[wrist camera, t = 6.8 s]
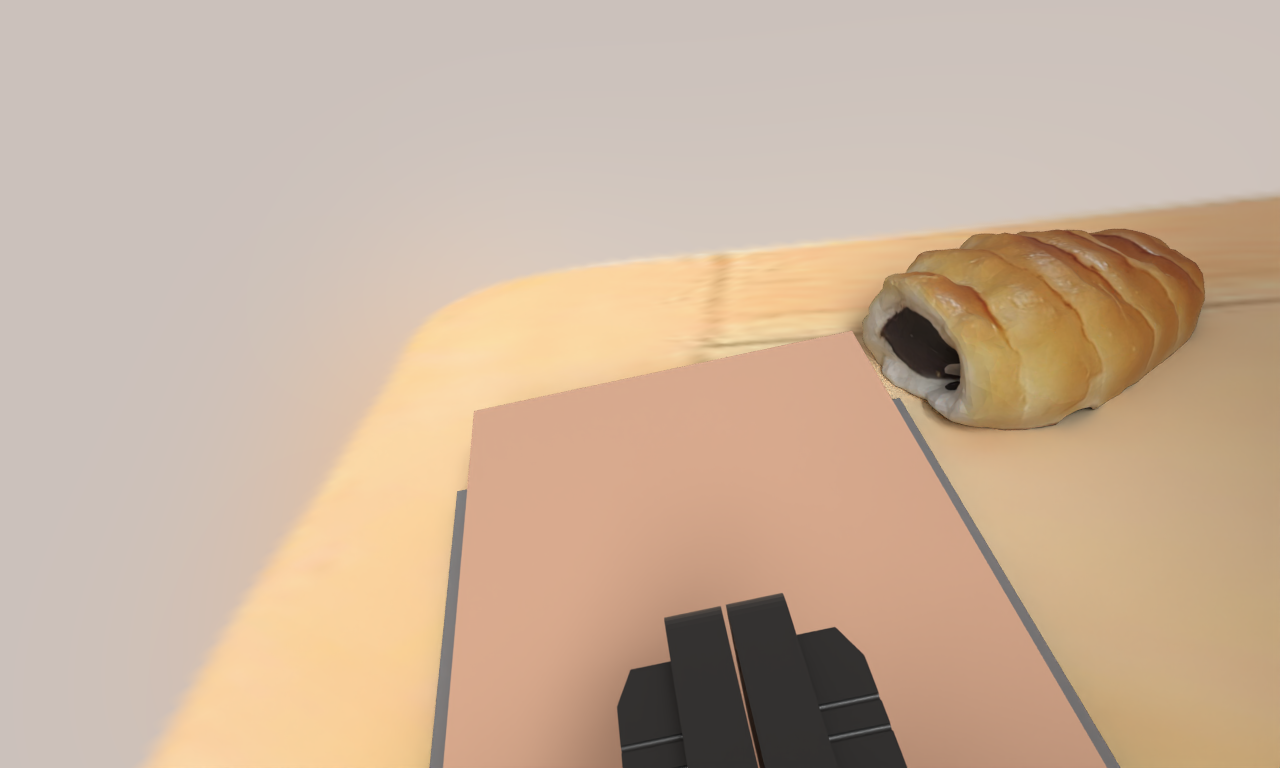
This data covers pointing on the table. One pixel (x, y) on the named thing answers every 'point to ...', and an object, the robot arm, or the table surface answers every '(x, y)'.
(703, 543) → the tile
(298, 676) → the table surface
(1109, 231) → the pastry
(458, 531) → the mat
